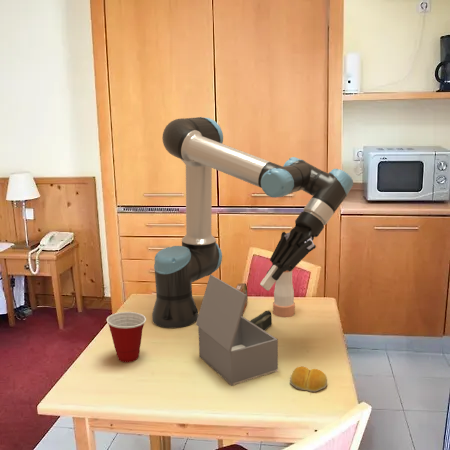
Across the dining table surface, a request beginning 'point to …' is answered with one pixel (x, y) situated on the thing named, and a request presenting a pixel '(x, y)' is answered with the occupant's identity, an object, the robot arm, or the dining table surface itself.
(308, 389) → the bread roll
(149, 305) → the dining table surface
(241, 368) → the box
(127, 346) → the plastic cup
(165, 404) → the dining table surface
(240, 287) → the tin
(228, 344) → the box lid
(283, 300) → the salt shaker
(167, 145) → the robot arm
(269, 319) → the black elongated piece
